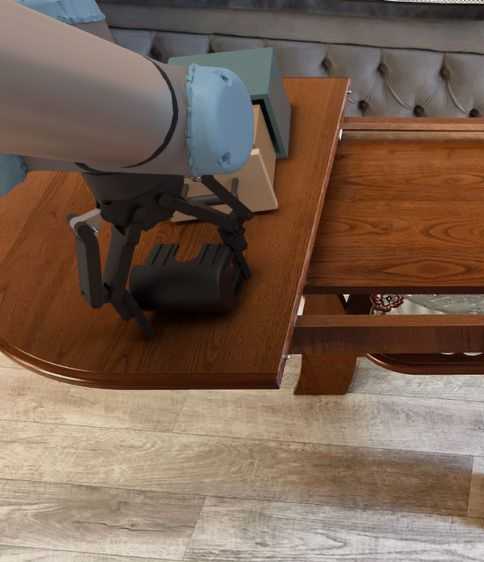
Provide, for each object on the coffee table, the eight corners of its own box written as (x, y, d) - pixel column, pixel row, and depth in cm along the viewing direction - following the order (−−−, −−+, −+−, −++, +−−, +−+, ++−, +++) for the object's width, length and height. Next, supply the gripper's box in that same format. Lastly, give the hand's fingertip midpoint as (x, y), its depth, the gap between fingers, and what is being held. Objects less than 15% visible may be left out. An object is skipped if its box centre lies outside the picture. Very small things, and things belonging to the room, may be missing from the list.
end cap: (146, 326, 77) (120, 285, 72) (168, 280, 82) (145, 239, 77) (233, 326, 77) (213, 285, 72) (250, 280, 82) (232, 239, 77)
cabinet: (287, 158, 98) (267, 93, 90) (183, 170, 96) (153, 105, 89) (291, 109, 106) (273, 46, 99) (195, 120, 105) (169, 57, 97)
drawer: (275, 230, 86) (255, 175, 80) (166, 244, 85) (137, 189, 78) (281, 156, 97) (264, 102, 90) (184, 168, 95) (160, 114, 89)
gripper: (209, 79, 70) (266, 232, 86) (-37, 189, 59) (82, 343, 75) (249, 106, 67) (301, 261, 83) (-4, 229, 55) (113, 381, 71)
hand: (197, 300), depth 79 cm, fingers closed on end cap, 11 cm apart
